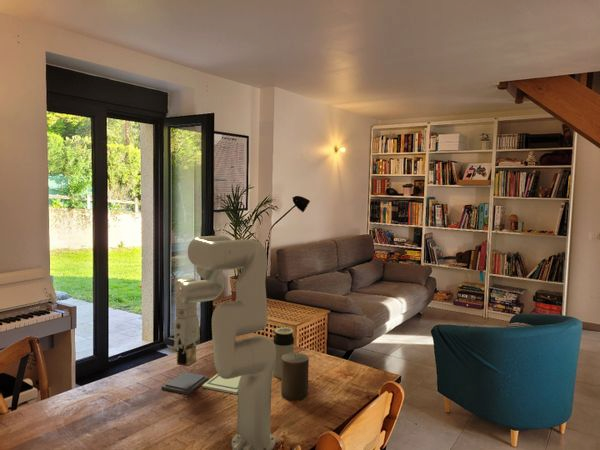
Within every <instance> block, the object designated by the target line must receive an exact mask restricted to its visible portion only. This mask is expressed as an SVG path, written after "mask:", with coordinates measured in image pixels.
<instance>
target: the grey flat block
mask: <svg viewBox="0 0 600 450" xmlns="http://www.w3.org/2000/svg"><path fill="white" fill-rule="evenodd" d="M208 380H210V379H209V376H208V375H203V374H199V373H192V372H189V371H183V372H182V373H180V374H178V375H177V376H175V377H174V378H172V379H170V380H169V381H168V382H166V383H165V384H163V385H162V386H161V390H163V391H168V392H173V393H178V394H181V395H190V394H191V393H193V392H194V391H195V390H196V389H197V388H199V387H200V386H202V385H203V384H204V383H206V382H207V381H208Z"/></svg>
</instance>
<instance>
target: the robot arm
mask: <svg viewBox="0 0 600 450" xmlns="http://www.w3.org/2000/svg"><path fill="white" fill-rule="evenodd" d="M267 255H268V254H267V251H266V249H265V247H264V246H263V244H262V243H261V242H260V241H258V240H254V239H232V238H231V237H228V236H225V235H208V236H207V235H206V236H197V237H194V238H193V239H192V240H191V241H190V242H189V244H188V247H187V256H188V260H189V261H190V263H191V264H193V265H194V266H195V269H196V273H197V274H198V276H199V277H200V278H201V279H200V280H196V279H195V278H193V277H182V278H178V279H177V280H176V281H175V284H174V285H175V286H174V293H175V294H174V295H175V296H174V297H175V299H174V301H175V321H174V331H173V339H174V343H173V349H174V350H175V351H176V354H177V353H178V363H179V364H186V353H185V350H186V346H188V345H190V344H191V345H194V346H196V347H197V342H198V340H199V339H200V337H201V336H200V323H199V322H200V321H199V315H198V311H197V309H198V307H197V305H198V304H197V303H203V302H209V301H213V300H214V301H215V300H216V299H217V298H218V297H219V296H220V295H221V294H222V292H223V291H224V289H225V285H226V281H225V280H226V279H225V274H224V271H228V270H229V271H231V270H239V269H242V270H241V272H240V273H239V275H238V277H237V279H236V281H235V300H234V301H227V302H223V303H220V304H219V305H217V306H216V307H215V308H214V310H213V312H212V316H211V334H212V335H211V336H212V350H213V362H214V367H215V371H216V374H218V375H219V376H220V377H221V378H224V379H231V378H235V377H239V376H241V378H240V380H239V384H238V393H237V408H236V409H237V412H236V415H237V417H236V420H237V421H236V423H237V424H236V426H237V427H236V428H237V429H236V433H235V434H234V435H233V437H232V438H231V447H232V448H231V450H273V449H274V448H275V447H276V438H275V436H274V435H273V433H272V432H271V418H272V417H271V415H272V414H271V413H272V410H271V409H272V406H271V405H272V379H273V367H274V363H275V357H276V350H275V346H274V344H273V343H274V341H273V340H272V339H270V338H269V337H267V336H262V335H259V336H256V335H255V336H252V337H247V338H242V339H238V340H236V338H237V337H240V336H244V335H245V336H246V335H248V334H254V333H258V332H260V331H262V330H264V329H266V327H267V325H268V304H267V302H268V301H267V290H266V277H267V269H268V257H267ZM181 343H182V344H181ZM181 346H183V349H182V348H181Z"/></svg>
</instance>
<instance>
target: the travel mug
mask: <svg viewBox="0 0 600 450" xmlns="http://www.w3.org/2000/svg"><path fill="white" fill-rule="evenodd" d="M274 333H275V334H274V337H273V344H274V346H275V350H276V357H275V363H274V367H273V372H272V376H274V377H275V378H278V379H281V376H282V356H283V355H285V354H289V353H295V350H294V349H295V337H294V336H293V335H294V334H293V333H294V329H293V328H291V327H284V326H281V327H276V328H275V329H274Z"/></svg>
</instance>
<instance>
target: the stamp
mask: <svg viewBox="0 0 600 450" xmlns="http://www.w3.org/2000/svg"><path fill="white" fill-rule="evenodd" d="M181 344H182V343H181ZM181 348H182V349H183V346H181ZM185 353H186V364H179V363H178V353H177V352H176V365H177V366H184V367H191V366H192V365H194V364H195V363H196V362H197V345H196V346H194V345H191V344H190V345H188V346H186V350H185Z"/></svg>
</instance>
